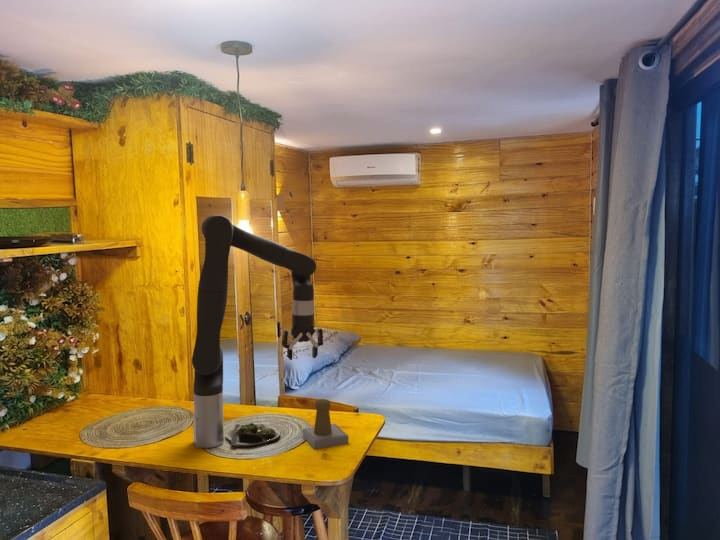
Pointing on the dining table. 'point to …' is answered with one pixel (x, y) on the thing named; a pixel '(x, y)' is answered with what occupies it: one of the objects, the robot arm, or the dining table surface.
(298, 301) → the robot arm
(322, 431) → the brown pepper mill
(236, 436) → the salad plate
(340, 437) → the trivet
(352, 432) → the dining table surface
